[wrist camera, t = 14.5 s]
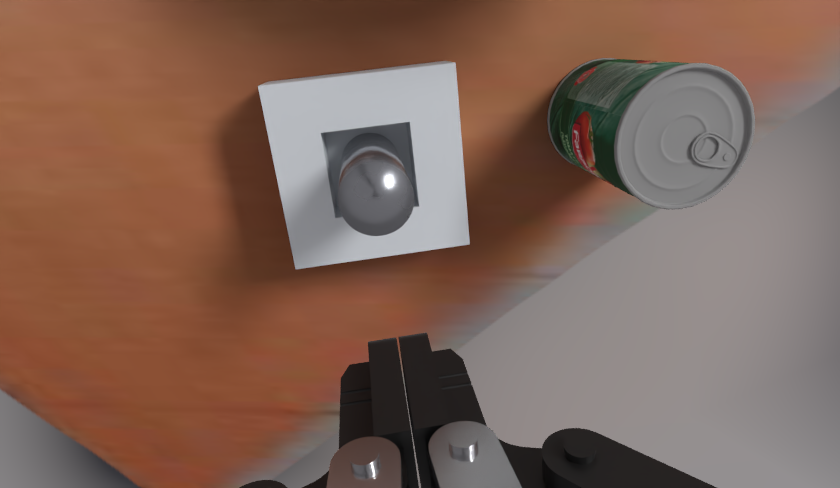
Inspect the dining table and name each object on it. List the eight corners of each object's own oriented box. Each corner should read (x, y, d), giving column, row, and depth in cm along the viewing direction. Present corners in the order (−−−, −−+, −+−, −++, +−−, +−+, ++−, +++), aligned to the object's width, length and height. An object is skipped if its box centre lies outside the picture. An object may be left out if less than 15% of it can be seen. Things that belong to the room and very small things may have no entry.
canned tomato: (529, 147, 40) (590, 183, 29) (575, 40, 37) (660, 38, 27) (620, 182, 41) (709, 227, 31) (670, 82, 39) (782, 95, 29)
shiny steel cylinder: (346, 193, 38) (344, 240, 29) (337, 136, 37) (332, 167, 27) (402, 185, 38) (418, 230, 29) (395, 129, 37) (410, 157, 28)
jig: (302, 258, 40) (297, 280, 37) (267, 81, 36) (257, 86, 32) (460, 236, 41) (470, 255, 38) (444, 60, 37) (455, 62, 33)
